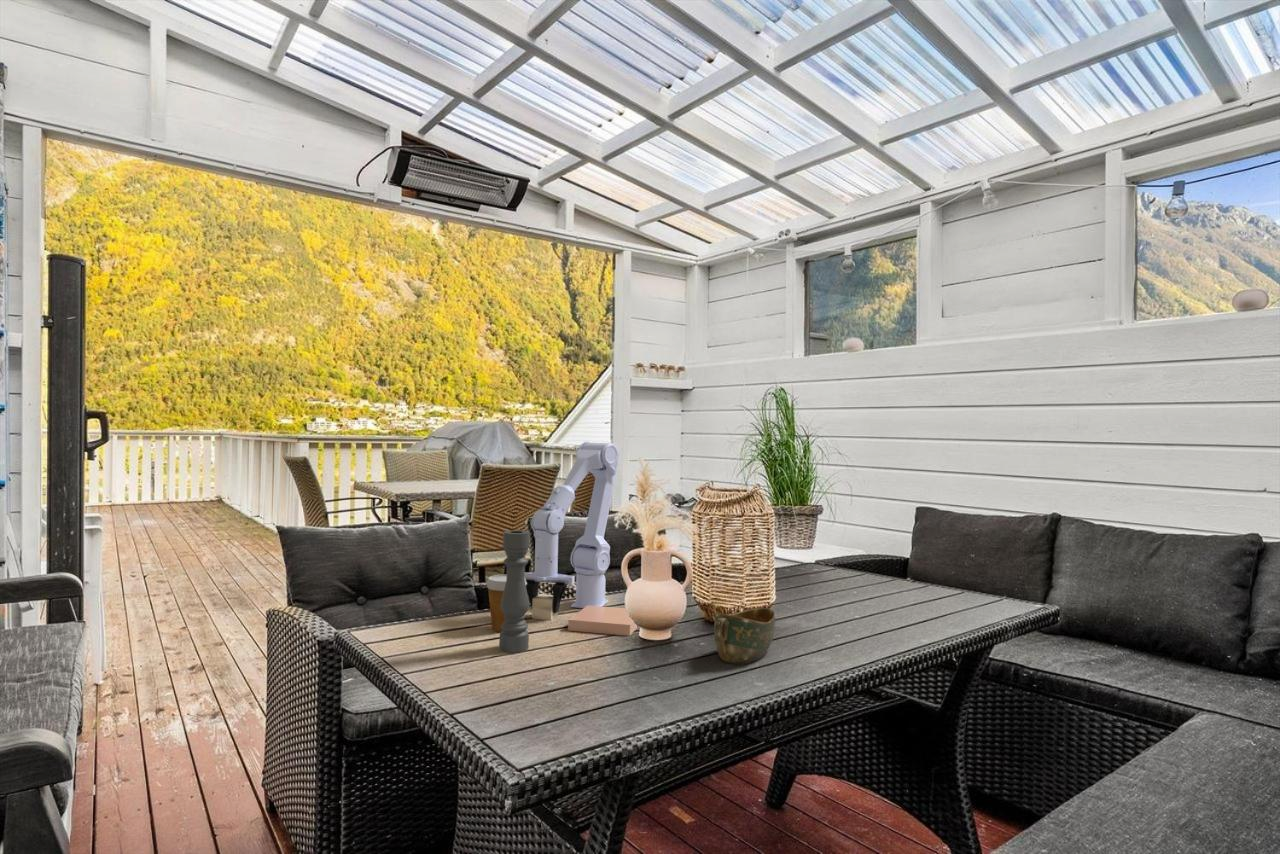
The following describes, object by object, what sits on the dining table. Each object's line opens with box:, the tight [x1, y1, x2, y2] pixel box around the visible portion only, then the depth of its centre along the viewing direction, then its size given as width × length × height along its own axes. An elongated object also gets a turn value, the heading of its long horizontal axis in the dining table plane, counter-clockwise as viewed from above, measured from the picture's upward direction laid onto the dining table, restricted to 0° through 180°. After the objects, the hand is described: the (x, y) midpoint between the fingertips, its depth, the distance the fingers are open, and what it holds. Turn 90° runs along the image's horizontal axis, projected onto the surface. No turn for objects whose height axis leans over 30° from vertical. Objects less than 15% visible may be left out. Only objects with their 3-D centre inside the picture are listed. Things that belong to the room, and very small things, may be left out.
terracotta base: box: [567, 605, 638, 637], centre depth 178 cm, size 15×15×2 cm
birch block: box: [531, 593, 559, 621], centre depth 184 cm, size 5×5×5 cm
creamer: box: [713, 607, 776, 665], centre depth 156 cm, size 13×20×10 cm, turn 116°
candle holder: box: [498, 529, 531, 654], centre depth 157 cm, size 6×6×25 cm
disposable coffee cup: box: [485, 573, 527, 633], centre depth 172 cm, size 10×10×12 cm
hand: (545, 611), depth 184 cm, fingers closed on birch block, 5 cm apart
